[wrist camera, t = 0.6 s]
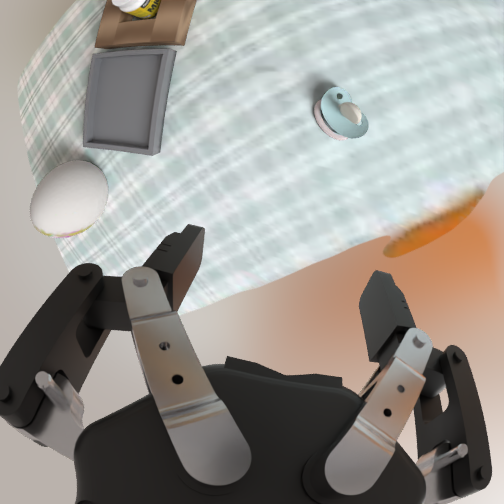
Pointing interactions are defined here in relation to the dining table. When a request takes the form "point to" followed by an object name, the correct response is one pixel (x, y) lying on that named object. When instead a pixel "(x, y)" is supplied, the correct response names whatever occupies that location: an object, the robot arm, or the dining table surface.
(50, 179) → the decorative egg
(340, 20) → the dining table surface
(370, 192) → the dining table surface
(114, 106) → the charcoal tray
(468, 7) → the dining table surface
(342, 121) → the pacifier
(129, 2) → the supplement bottle
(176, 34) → the walnut holder
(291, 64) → the dining table surface
